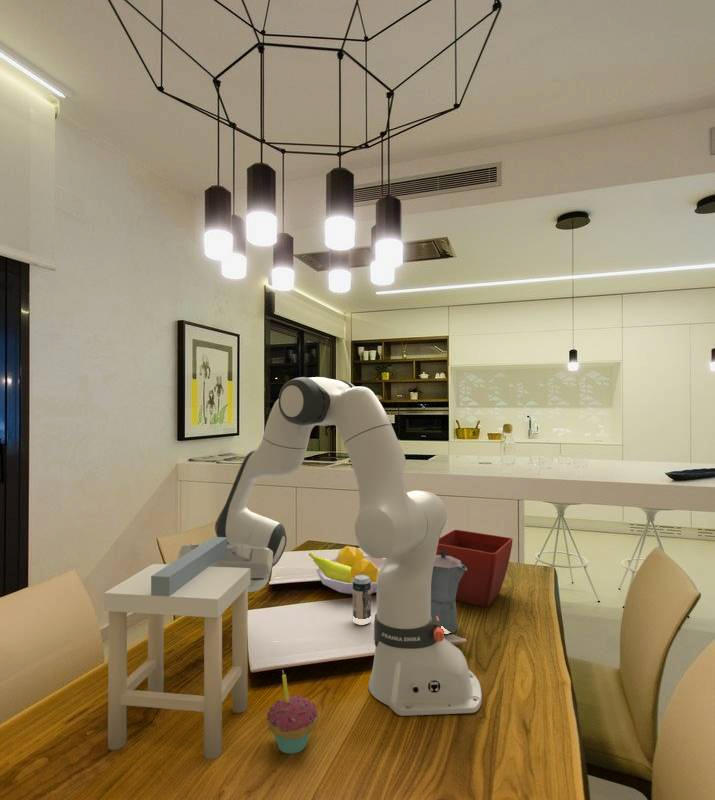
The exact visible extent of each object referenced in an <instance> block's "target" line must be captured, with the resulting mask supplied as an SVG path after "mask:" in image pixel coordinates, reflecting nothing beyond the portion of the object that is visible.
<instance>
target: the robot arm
mask: <svg viewBox="0 0 715 800" xmlns="http://www.w3.org/2000/svg"><path fill="white" fill-rule="evenodd" d="M316 426H318V427H319V426H321V427H324V426H325V427H327V426H335V427H336V428H337V430H338V432H339V434H340V436H341V439H342V441H343V445H344V446H345V447H344V448H345V450H346V452H347V455H348V459H349V460H350V464H351V466H352V469H353V471H354V472H353V473H354V475H355V479H356V482H357V489H358V497H359V498H358V499H359V500H358V501H359V503H358V504H359V509H358V513H357V516H356V518H355V522H354V527H353V529H354V530H353V531H354V536H355V541H356V543H357V546H358V547H359V548H360V551H361V552H362V553H363V554H366V556H370V557H373V558H383V559H385V561H384V564H383V566H382V568H381V570H380V571H379V574H378V577H377V592H376V613H375V614H374V615H375V616H374V620H373V641H374V646H375V649H374V655H373V657H374V658H373V663H372V664H373V665H372V669H371V673H370V677H369V681H368V683H367V684H368V689H369V693H370V694H371V695H372V697H374V698H375V699H376V700H378V701H379V702H381V703H383V704H385V705H387V706H388V707H389V708H390V709H391V710H392V711H393V712H394V713H395V714H396V715H397V716H398V715H399V716H403V717H405V716H406V717H407V716H424V715H426V716H427V715H429V716H430V715H431V716H432V715H450V714H451V715H452V714H474V713H476V712H477V711H479V709H480V707H481V706H482V701H483V695H482V687H481V684H480V681H479V680H478V677H477V676H476V675H475V674H474V673H473V672H472V671H471V670H470V669H469V666H468V662H467V660H466V658H465V657H466V656H465V655H464V654H463V651H462V650H460V648H458V647H457V646H456V645H454V644H452V643H451V641H449V640H448V639H447V638H445V635H444V631H443V629H441V623H440V622H439V618H438V616H436V618H437V619H436V618H434V617H433V616H432V615H431V580H432V572H433V567H434V562H435V557H436V552H437V547H438V542H439V538H440V537H441V534H442V531H443V530H444V527H445V525H446V523H447V517H448V515H447V514H448V513H447V507H446V506H445V503H444V502H443V500H442V499H441V498H440V496H438V495H437V494H435V493H433V492H432V491H431V492H430V491H426V490H425V491H424V490H410V491H407V490H406V485H405V479H404V469H405V465H406V456H405V453H404V451H403V449H402V446H401V443H400V441H399V439H398V437H397V435H396V432H395V430H394V427H393V425H392V423H391V421H390V417H389V416H388V414H387V412H386V410H385V409H384V406H383V405H382V403H381V402H380V401H379V399H378V397H377V395H375V393H374V392H373V391H372V390H371V389H370V388H368V387H366V386H355V385H354V384H352V383H351V382H348V381H345V380H343V379H337V380H336V379H333V378H327V377H324V376H322V377H321V376H315V377H313V376H312V377H306V376H302V377H295V378H293V379H291V380H288V381H286V383H284V384H283V386H282V387H281V389H280V391H279V394H278V399H277V400H276V401H275V402H274V404H273V406H272V408H271V410H270V413H269V415H268V419H267V420H266V425H265V428H264V431H263V436H262V439H261V443H260V444H259V446H258V447H257V448H256V449H255V450H251V451H250V452H249V453H247V455H246V456H245V457H244V460H243V462H242V463H241V466H240V468H239V469H238V473H237V475H236V476H235V479H234V482H233V484H232V487H231V489H230V491H229V495H228V497H227V499H226V502H225V504H224V506H223V508H222V510H221V512H220V513H219V516H218V517H217V520H216V521H215V523H214V531H215V536H216V537H227V553H226V554H225V555H223V556H222V557H221V558H219V559H218V560H217V561H215V562H214V563H213V564H211V565H210V566H212V567H233V568H250V585H249V586H248V593H253V592H257V591H259V590H261V589H262V588H264V587H265V586H266V585H267V583H268V581H269V580H270V577H271V572H272V568H273V567H275V566H276V565H277V564H278V563H279V561H280V559H281V558H282V555H283V554H284V551H285V549H286V547H287V534H286V529H285V527H284V525H283V524H282V523H281V522H280V521H279V522H278V521H276V520H274V519H272V518H270V517H266V516H263V515H260V514H259V513H257V512H256V513H255V512H253V511H251V510H250V509H249V508H248V507H247V504H248V502H249V501H248V500H249V499H250V496H251V493H252V492H253V489H254V486H255V484H256V482H257V480H258V479H259V478H271V477H272V478H274V477H282V476H286V475H290V474H292V473H295V472H296V471H297V470H298V469H299V468H300V467H301V466H302V464H303V463H304V459H305V458H306V454H307V449H308V445H309V441H310V437H311V432H312V430H313V428H315V427H316ZM198 546H199V543H190V544H183V545H182V546H180V548H179V552H178V557H177V559H179V558H180V557H182V556H184V555H185V554H187V553H188V552H190V551H192V550H193V549H195V548H196V547H198Z"/></svg>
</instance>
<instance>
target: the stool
mask: <svg viewBox="0 0 715 800" xmlns="http://www.w3.org/2000/svg"><path fill="white" fill-rule="evenodd" d="M168 565H169V563H168V564H167V563H166V564H165V563H164V564H163V563H152V564H150V565H149V566H147V567H145V568H143V569H142V570H141V571H139V572H136V573H135V574H133V575H131V576H130V577H129V578H127V579H125V580H124V581H122V582H120V583H118V584H117V585H115V586H113V587H112V588H110V589H108V590H107V591H105V592H104V593H103V596H104V597H103V611H104V612H108V643H107V644H108V646H107V647H108V653H107V654H108V656H107V657H108V659H107V661H108V662H107V664H108V666H107V667H108V668H107V669H108V670H107V671H108V672H107V676H108V677H107V679H108V681H107V682H108V683H107V685H108V686H107V687H108V689H107V703H108V704H107V748H108V749H109V750H110V751H115V750H119V749H121V748H123V747H124V746H125V745H126V743H127V716H128V715H127V708H128V707H127V706H132V707H133V706H134V707H143V708H154V709H156V708H157V709H167V710H178V711H190V712H202V713H203V757H204V759H206V760H210V761H211V760H215V759H218V758H219V757H221V756H222V754H223V753H222V749H223V748H222V747H223V746H222V745H223V744H222V743H223V742H222V741H223V737H222V736H223V733H222V732H223V730H222V729H223V722H222V720H223V718H222V717H223V716H222V714H223V710H222V709H223V702H224V701H225V700H226V698H227V696H229V693H230V692H231V697H232V698H231V699H232V700H231V709H232V712H233V713H235V714H241V713H244V712H246V711H247V710H248V648H249V647H248V645H249V644H248V641H249V640H248V638H249V637H248V627H249V626H248V621H249V618H248V617H249V616H248V615H249V614H248V612H249V611H248V608H249V607H248V604H249V603H248V601H249V600H248V599H249V597H248V596H249V595H248V594H249V592H248V586H249V585H250V568H233V567H212V566H209V567H208V568H206V569H205V570H204V571H202V572H201V573H200V574H198V575H197V576H196V577H194V578H193V579H192V580H190V581H189V582H188V583H186V584H185V585H184V586H183V587H181V588H180V589H179V590H177V591H176V592H175V593H173V594H172V595H171V596H151V576H152V575H154V574H155V573H157V572H158V571H160V570H162V569H163V568H165V567H166V566H168ZM231 605H232V614H231V615H232V618H231V619H232V620H231V621H232V623H231V624H232V625H231V626H232V631H231V633H232V635H231V636H232V637H231V638H232V641H231V642H232V643H231V644H232V648H231V649H232V651H231V652H232V653H231V654H232V656H231V659H232V660H231V661H232V663H231V667H230V669H229V670H228V672H227V673H226V674H225V675H224V677H223V613H225V612H226V610H227V609H228V608H229V607H230V606H231ZM128 613H132V614H133V613H134V614H147V659H146V660H145V661H144V662H143V663H142V664H141V665H140V666H139V667H138V668H137V669H135V670H134V672H132V673H131V674H130V675H129V676H128V675H127V673H128V669H127V667H128V656H127V655H128ZM164 615H166V616H180V617H181V616H184V617H200V618H204V619H203V621H204V625H203V626H204V627H203V628H204V630H203V631H204V633H203V636H204V638H203V640H204V641H203V643H204V644H203V645H204V647H203V658H204V659H203V660H204V661H203V668H204V669H203V695H196V694H184V693H174V692H172V693H171V692H164V673H165V672H164V670H165V669H164V662H165V661H164V658H165V657H164V653H165V651H164V649H165V648H164V644H165V643H164V641H165V639H164V638H165V637H164V634H165V633H164V631H165V629H164V628H165V626H164V625H165V623H164V622H165V619H164V617H165V616H164ZM146 678H147V690H138V689H137V690H136V688H137V687H138V686H139V685H140V684H141V683H142V682H143V681H144V680H145V679H146Z"/></svg>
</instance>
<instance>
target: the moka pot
mask: <svg viewBox="0 0 715 800" xmlns="http://www.w3.org/2000/svg"><path fill="white" fill-rule="evenodd" d="M446 553H447V551H444V550H442V551H441V555H436V557H435V562H434V567H433V572H432V580H431V615H432V616H433V617H434V618H436V616H438V618H439V622H440V623H441V626H443V627H444V628H445V629H447V630H448V631H450V632H451V633H452V634H454V633H456V632H457V630H458V617H457V602H456V601H457V600H455V598H456V593H457V587H458V583H459V581H460V579H461V577H462V575H463V573H464V572H465V571H467V568H466V567H465V566H464V565H463V564H461V561H460V560H458V559H456V558H454V557H451V556H446ZM436 619H437V618H436Z"/></svg>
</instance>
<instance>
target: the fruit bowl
mask: <svg viewBox="0 0 715 800" xmlns="http://www.w3.org/2000/svg"><path fill="white" fill-rule="evenodd" d="M308 556H309V557H310V558H311V559H312V561H313V562H314V564H315V565H316V566H317V568H316V569H315V570H316V572H317V575H318V577H319V579H320V581H321V583H322V585H324V586H327V587H328V588H330V589H332V590H334V591H337V592H339V593H343V594H347V595H353V579H354V577H355V576H356V575H362V574H364V575H368V576H369V578H370V580H371V595H372V594H375V593H376V594H377V577H378V574H379V571H380V570H381V568H382V566H383V564H384V561H385V558H373V557H370V556H368V555H364V552H363V551H362V550H361V549H359V548H358V547H355V546H351V545H350V546H349V545H346V546H344V547H343V548H342V549H341V550H339V551H338V553H337V556H336V558H332V559H328V558H327V559H326V558H324V557H320V556H315V554H314V553H312V552H310V553H308ZM327 578H330V579H327ZM331 579H333V580H331Z"/></svg>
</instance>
